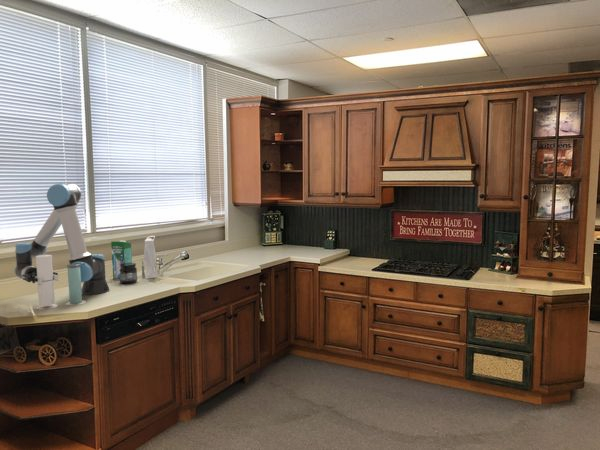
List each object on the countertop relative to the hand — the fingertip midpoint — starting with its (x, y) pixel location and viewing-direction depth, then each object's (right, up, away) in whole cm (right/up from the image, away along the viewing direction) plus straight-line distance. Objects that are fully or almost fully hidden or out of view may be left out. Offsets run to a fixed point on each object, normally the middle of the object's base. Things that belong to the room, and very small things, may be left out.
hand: (49, 279), depth 246 cm
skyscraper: (+26, -8, +82) cm, 87 cm away
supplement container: (+16, -10, +68) cm, 70 cm away
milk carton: (+7, -8, +84) cm, 85 cm away
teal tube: (+8, -14, +12) cm, 20 cm away
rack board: (+2, -15, +8) cm, 18 cm away
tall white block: (-3, -13, +5) cm, 15 cm away
